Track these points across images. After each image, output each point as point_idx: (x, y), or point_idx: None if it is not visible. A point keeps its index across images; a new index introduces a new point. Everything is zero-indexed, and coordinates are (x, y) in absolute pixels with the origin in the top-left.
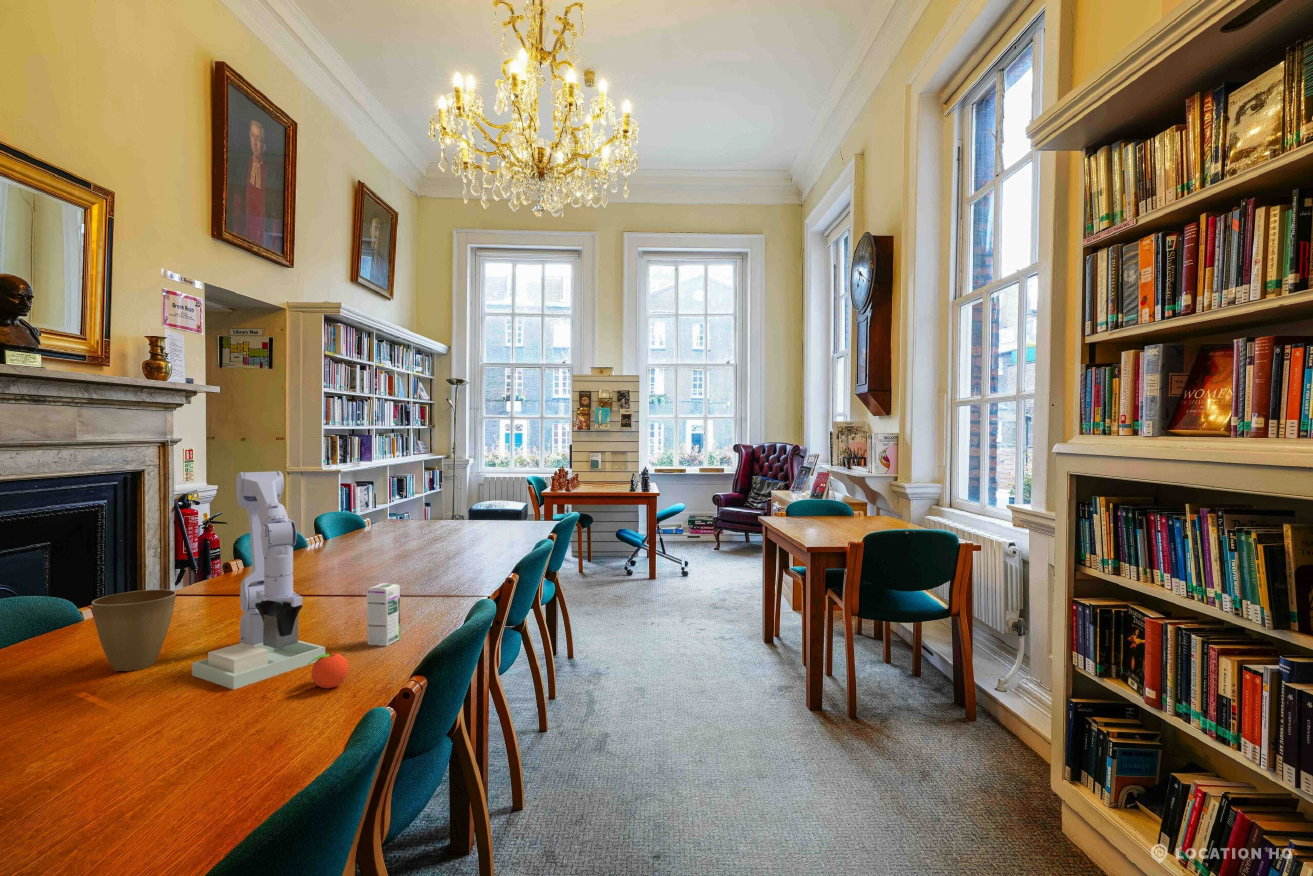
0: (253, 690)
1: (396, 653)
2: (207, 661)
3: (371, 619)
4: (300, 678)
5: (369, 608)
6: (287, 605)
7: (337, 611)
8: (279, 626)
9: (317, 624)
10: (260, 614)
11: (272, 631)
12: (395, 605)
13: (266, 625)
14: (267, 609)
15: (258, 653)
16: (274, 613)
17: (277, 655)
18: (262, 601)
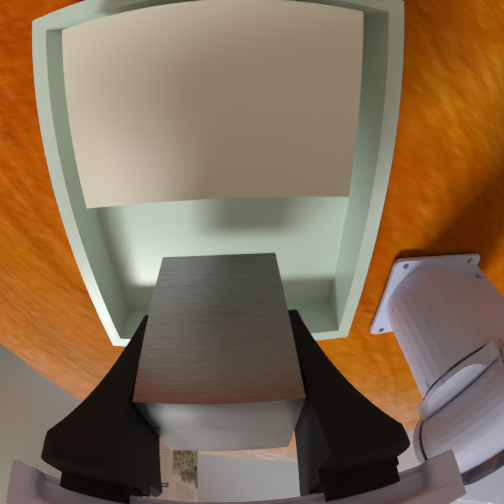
0: None
1: (80, 381)
2: (383, 49)
3: (162, 447)
4: (40, 213)
5: (165, 472)
6: (70, 479)
7: (411, 410)
8: (139, 354)
9: (401, 386)
10: (352, 386)
11: (187, 317)
12: None
13: (259, 338)
14: (313, 435)
15: (77, 156)
16: (258, 423)
17: (287, 270)
18: (382, 468)
